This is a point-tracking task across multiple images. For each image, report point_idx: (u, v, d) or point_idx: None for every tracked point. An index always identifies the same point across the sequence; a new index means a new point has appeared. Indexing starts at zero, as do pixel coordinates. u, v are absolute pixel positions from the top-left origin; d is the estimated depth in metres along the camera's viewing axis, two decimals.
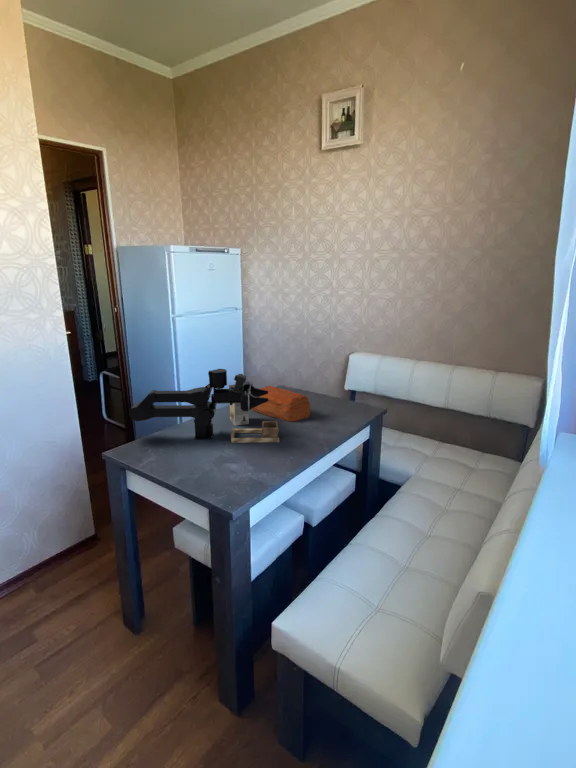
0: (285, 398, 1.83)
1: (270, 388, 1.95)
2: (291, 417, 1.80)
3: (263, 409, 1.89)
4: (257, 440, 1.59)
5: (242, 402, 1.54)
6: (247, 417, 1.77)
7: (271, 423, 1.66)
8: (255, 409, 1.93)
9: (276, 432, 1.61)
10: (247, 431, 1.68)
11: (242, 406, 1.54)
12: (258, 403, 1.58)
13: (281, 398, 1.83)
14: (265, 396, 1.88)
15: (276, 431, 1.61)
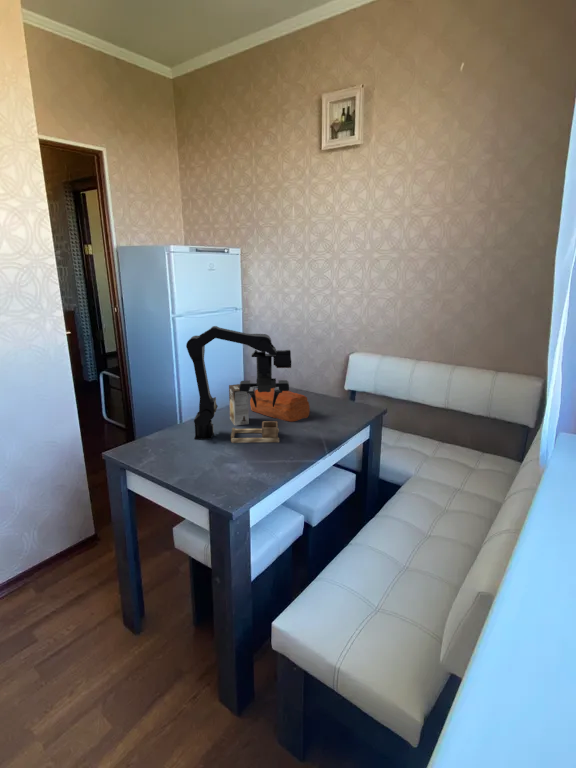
0: (284, 398, 1.82)
1: None
2: (291, 417, 1.80)
3: (262, 409, 1.89)
4: (257, 440, 1.59)
5: None
6: (247, 417, 1.77)
7: (271, 423, 1.66)
8: (254, 409, 1.93)
9: (276, 432, 1.61)
10: (247, 431, 1.68)
11: (240, 383, 1.62)
12: None
13: (280, 398, 1.83)
14: (264, 396, 1.88)
15: (276, 431, 1.61)
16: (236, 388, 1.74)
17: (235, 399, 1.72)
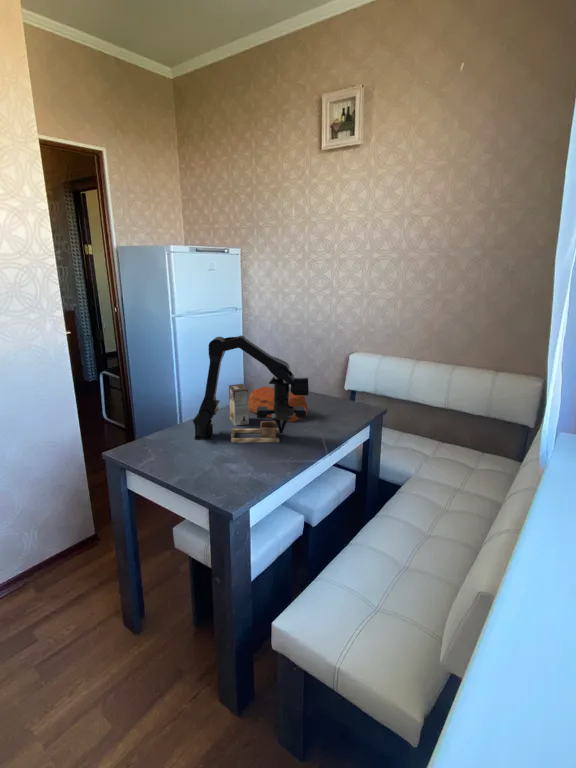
0: None
1: (267, 388, 1.94)
2: None
3: None
4: (257, 440, 1.59)
5: (257, 410, 1.61)
6: (247, 417, 1.77)
7: (269, 423, 1.66)
8: (252, 410, 1.92)
9: (274, 432, 1.61)
10: (247, 431, 1.68)
11: (257, 409, 1.63)
12: None
13: None
14: (262, 397, 1.88)
15: (274, 431, 1.61)
16: (236, 388, 1.74)
17: (235, 399, 1.72)
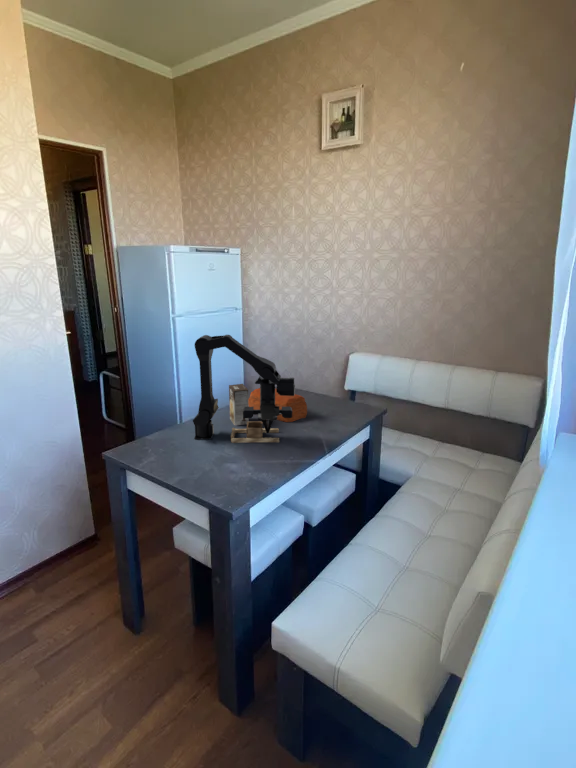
0: (281, 398, 1.82)
1: None
2: (287, 418, 1.79)
3: (259, 409, 1.88)
4: (257, 440, 1.59)
5: (243, 410, 1.61)
6: None
7: (256, 423, 1.66)
8: None
9: (260, 432, 1.60)
10: None
11: (243, 409, 1.62)
12: None
13: (277, 398, 1.83)
14: None
15: (260, 431, 1.60)
16: (236, 388, 1.74)
17: (235, 399, 1.72)
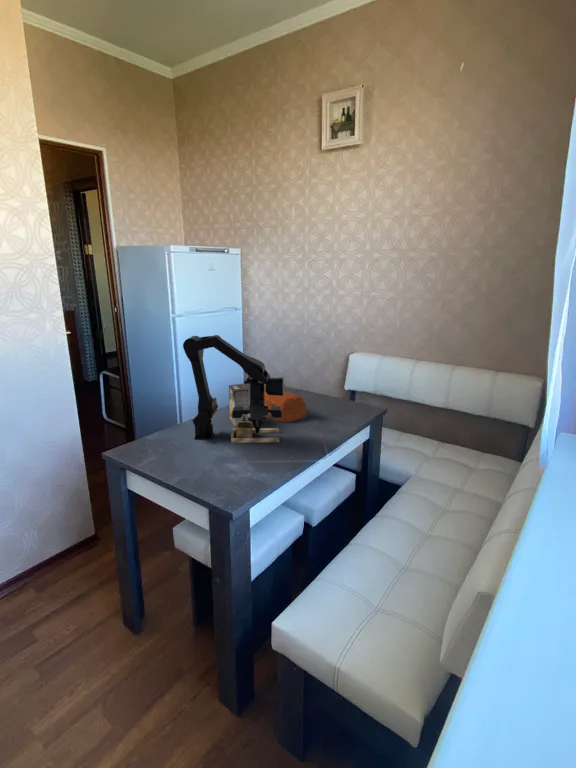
0: (279, 398, 1.82)
1: None
2: (284, 418, 1.79)
3: None
4: (257, 440, 1.59)
5: None
6: (247, 417, 1.77)
7: (246, 423, 1.66)
8: None
9: (250, 432, 1.60)
10: None
11: (233, 409, 1.62)
12: None
13: (275, 398, 1.83)
14: None
15: (250, 431, 1.60)
16: (236, 388, 1.74)
17: (235, 399, 1.72)
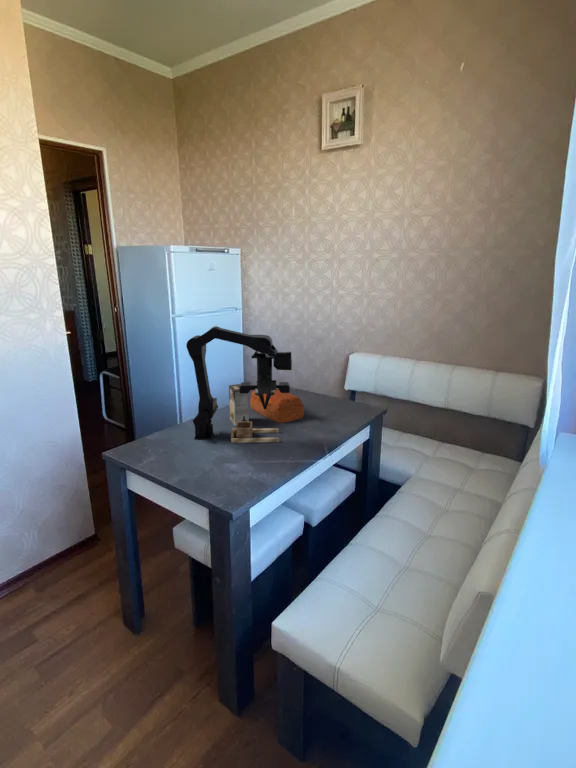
0: (276, 399, 1.82)
1: None
2: (279, 418, 1.79)
3: (257, 407, 1.90)
4: (257, 440, 1.59)
5: None
6: (247, 417, 1.77)
7: (246, 423, 1.66)
8: (252, 407, 1.95)
9: (250, 432, 1.60)
10: None
11: (240, 385, 1.60)
12: None
13: (272, 398, 1.83)
14: None
15: (250, 431, 1.60)
16: (236, 388, 1.74)
17: (235, 399, 1.72)
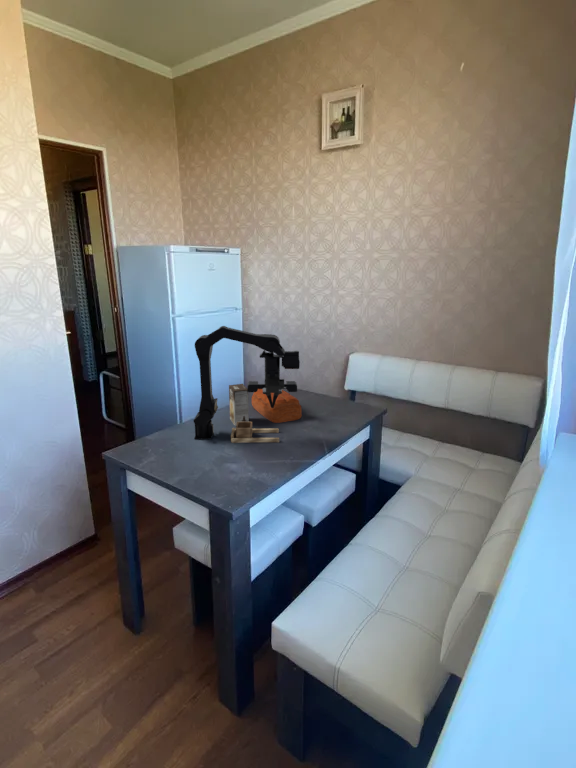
0: None
1: None
2: (274, 418, 1.79)
3: (257, 407, 1.91)
4: (257, 440, 1.59)
5: None
6: (247, 417, 1.77)
7: (246, 423, 1.66)
8: (253, 406, 1.97)
9: (250, 432, 1.60)
10: None
11: (248, 384, 1.62)
12: None
13: None
14: (260, 394, 1.91)
15: (250, 431, 1.60)
16: (236, 388, 1.74)
17: (235, 399, 1.72)
